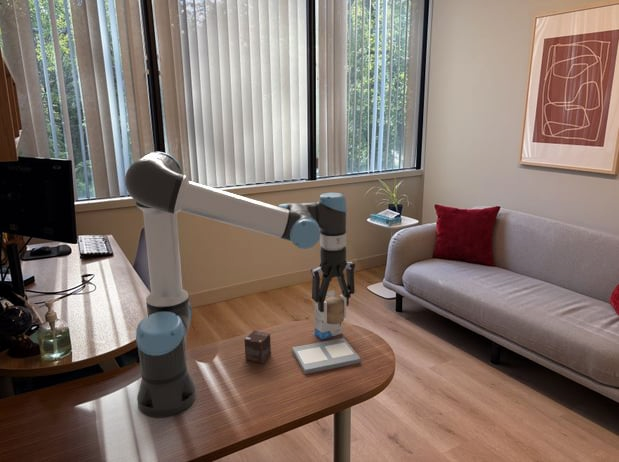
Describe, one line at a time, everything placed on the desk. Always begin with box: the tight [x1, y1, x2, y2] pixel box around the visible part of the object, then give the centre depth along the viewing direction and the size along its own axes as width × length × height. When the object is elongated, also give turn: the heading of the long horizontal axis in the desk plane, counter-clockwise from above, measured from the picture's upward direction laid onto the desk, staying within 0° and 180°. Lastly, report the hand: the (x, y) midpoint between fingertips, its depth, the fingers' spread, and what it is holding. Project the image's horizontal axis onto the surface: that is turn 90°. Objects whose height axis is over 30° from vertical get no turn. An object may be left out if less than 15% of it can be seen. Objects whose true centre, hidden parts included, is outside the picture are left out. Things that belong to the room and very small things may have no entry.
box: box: [243, 330, 272, 364], centre depth 144 cm, size 6×6×7 cm
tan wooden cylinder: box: [325, 297, 345, 324], centre depth 140 cm, size 6×6×6 cm
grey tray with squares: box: [291, 337, 362, 375], centre depth 145 cm, size 18×13×2 cm
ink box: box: [314, 289, 343, 341], centre depth 156 cm, size 8×5×15 cm, turn 123°
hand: (333, 318), depth 140 cm, fingers closed on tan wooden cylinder, 6 cm apart
